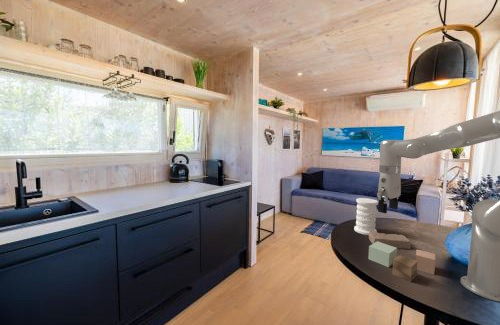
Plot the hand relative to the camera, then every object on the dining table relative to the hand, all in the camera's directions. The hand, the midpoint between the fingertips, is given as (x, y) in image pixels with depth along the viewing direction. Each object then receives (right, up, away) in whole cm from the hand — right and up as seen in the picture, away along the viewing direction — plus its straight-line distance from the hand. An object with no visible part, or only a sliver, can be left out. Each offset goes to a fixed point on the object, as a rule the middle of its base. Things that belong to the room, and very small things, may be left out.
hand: (387, 210), depth 93 cm
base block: (-1, -22, +3) cm, 23 cm away
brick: (+12, -21, +18) cm, 31 cm away
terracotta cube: (+13, -23, -3) cm, 26 cm away
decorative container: (+8, -20, +35) cm, 41 cm away
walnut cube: (+1, -23, -8) cm, 25 cm away
